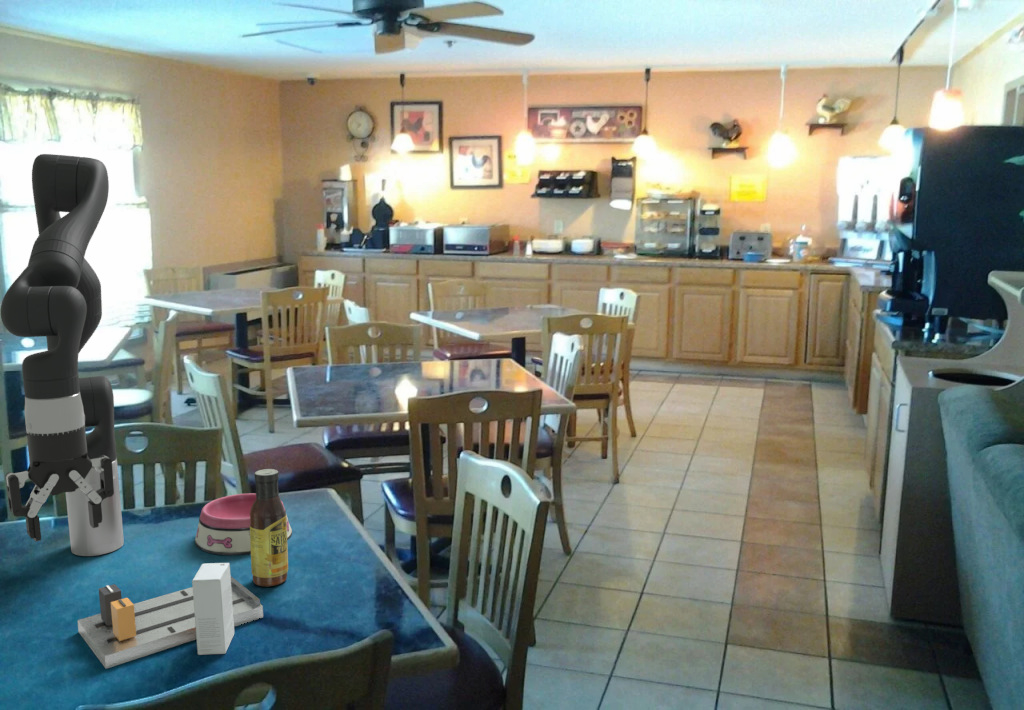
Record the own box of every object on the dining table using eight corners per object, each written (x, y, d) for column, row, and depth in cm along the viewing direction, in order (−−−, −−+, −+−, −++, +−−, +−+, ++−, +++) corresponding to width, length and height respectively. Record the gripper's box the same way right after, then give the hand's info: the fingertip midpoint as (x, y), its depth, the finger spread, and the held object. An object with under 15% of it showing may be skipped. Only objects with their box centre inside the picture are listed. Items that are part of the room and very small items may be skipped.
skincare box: (206, 635, 135) (202, 562, 133) (235, 634, 136) (230, 561, 134) (196, 656, 129) (191, 580, 127) (225, 654, 130) (221, 579, 128)
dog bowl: (261, 513, 187) (260, 483, 186) (310, 537, 174) (309, 505, 173) (178, 537, 174) (176, 505, 173) (224, 565, 161) (222, 530, 160)
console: (78, 632, 136) (76, 614, 136) (227, 587, 152) (226, 571, 151) (105, 668, 126) (104, 649, 125) (263, 617, 141) (262, 600, 141)
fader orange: (113, 633, 131) (110, 601, 130) (129, 628, 133) (127, 596, 132) (119, 641, 129) (116, 608, 128) (136, 635, 131) (133, 603, 130)
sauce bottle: (278, 590, 151) (273, 479, 147) (245, 586, 152) (239, 477, 148) (295, 574, 157) (290, 467, 154) (263, 571, 158) (257, 465, 155)
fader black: (101, 618, 136) (98, 587, 135) (117, 613, 137) (114, 582, 136) (107, 625, 134) (104, 594, 133) (123, 621, 135) (120, 589, 134)
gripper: (100, 411, 134) (109, 514, 137) (-7, 428, 124) (5, 537, 127) (116, 421, 128) (124, 528, 131) (5, 439, 119) (17, 553, 122)
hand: (66, 532), depth 129 cm, fingers open, 7 cm apart
